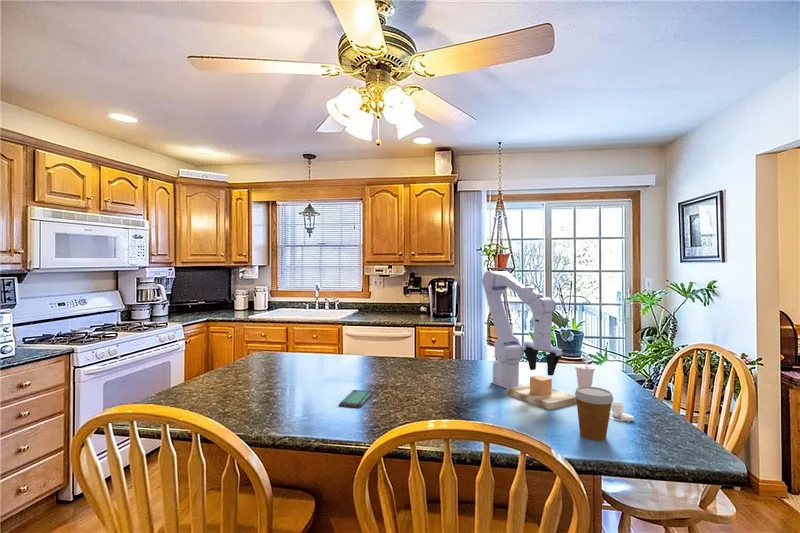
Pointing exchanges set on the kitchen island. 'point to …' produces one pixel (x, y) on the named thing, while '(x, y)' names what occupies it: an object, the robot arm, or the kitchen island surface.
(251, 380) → the kitchen island surface
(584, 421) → the disposable coffee cup
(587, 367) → the smoothie
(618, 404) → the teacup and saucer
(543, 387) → the block
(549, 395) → the base board
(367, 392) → the smartphone
